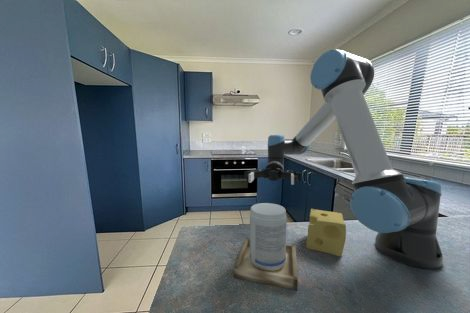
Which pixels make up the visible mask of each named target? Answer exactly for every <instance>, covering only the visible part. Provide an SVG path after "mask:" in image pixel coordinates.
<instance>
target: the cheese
mask: <svg viewBox="0 0 470 313" xmlns="http://www.w3.org/2000/svg"><path fill="white" fill-rule="evenodd" d="M346 235H347V226H346V222H345V221H344V217H343V213H341V212H335V211H328V210H321V209H315V208H310V212H309V221H308V228H307V237H306V242H305V244H306V245H305V246H306V249H308V250H312V251H317V252H322V253H326V254H330V255H333V256H337V257H343V251H344V248H345V243H346V237H347V236H346Z"/></svg>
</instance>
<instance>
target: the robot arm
mask: <svg viewBox="0 0 470 313" xmlns="http://www.w3.org/2000/svg"><path fill="white" fill-rule="evenodd" d="M309 77H310V84H311V85H312V87H313V88H315V89H316V90H320V92H321V93H322V96H323V100H324V103H323V104H322V105H321V107H320V108H319V109H318V110H317V111H316V112H315V113H314V114H313V116H312V117H311V118H310V119H309V120H308V121H307V122H306V123H305V125H304V126H303V127H302V128H301V129H300V131H299V132H298V133H296V135H295V136H294V137H293V138H292V139H288V138H287V139H286V138H285V136H284V135H283V134H271V135H269V136H268V138H267V165H266V166H265V168H262V170H261V169H260V168H256V169H250V170H247V171H246V170H245V171H244V179H248V183H250V184H251V183H252V182H254V180H255V179H259V178H263V179H268V180H269V181H272V182H277V181H279V180H282V179H283V180H284V179H285V180H290V184H291V186H292V185H293V186H294V185H295V182H298V181H299V182H301V181H303V173H301V172H298V171H295V170H291V169H288V170H285V164H284V163H285V156H287V155H288V156H289V155H297V156H299V155H304V154H306V153H307V152H309V149H310V144H312V142H314V140H315V139H317V138H318V137H319V135H321V133H322V132H324V130H326V129H327V128H328V127H329V126H330V125H331V124H332V123H333V122H334V121H335V120H336V121H337V124H338V127H339V131H340V134H341V136H342V138H343V139H342V140H343V142H344V145H345V148H346V150H347V154H348V158H349V160H350V163H351V167H352V170H353V171H354V174H355V177H354V178H353V180H352V181H351V185H352V187H353V191H354V192H353V193H352V194H351V197H350V200H349V205H350V209H351V212H352V214H353V215H354V217H355V218H356V220H357V221H358V222H359V223H360V224H361V225H362V226H364V227H366V228H367V229H369V230H371V231H373V232H376V233H377V234H376V235H375V239H374V241H375V242H374V246H375V248H376V249H377V250H378V251H379V252H381V253H382V254H384V255H385V256H387V257H388V258H390V259H393V261H397V262H399V263H402V264H405V265H409V266H411V267H416V268H420V269H427V270H428V269H430V270H434V269H436V270H437V269H440V268H441V267H442V266H443V260H444V257H443V253H442V250H441V246H440V244H439V241H438V238H437V228H438V220H439V212H440V203H441V197H442V185H441V184H440V182H437V181H436V180H435V181H434V180H428V179H423V178H422V179H420V178H413V177H408V176H407V177H406V176H404V173H402V172H401V171H398V170H396V169H394V168H393V166H392V163H391V161H390V159H389V156H388V154H387V151H386V149H385V146H384V144H383V141H382V139H381V136H380V134H379V131H378V128H377V126H376V123H375V121H374V118H373V116H372V114H371V111H370V108H369V105H368V103H367V101H366V100H367V99H366V98H365V94H366V93H367V91H368V90H369V89H370V87H371V85H372V84H373V82H374V78H375V68H374V65H373V64H372V62H371V61H370V60H369V59H367V58H365V57H362V56H358V55H356V54H353V53H350V52H347V51H345V50H343V49H337V48H336V49H334V48H333V49H329V50H327V51H325V52H323V53H322V54H321V55H320V56H319V57H318V58H317V59H316V61H315V62H314V64H313V67H312V69H311V71H310V76H309Z"/></svg>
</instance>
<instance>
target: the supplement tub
mask: <svg viewBox="0 0 470 313" xmlns="http://www.w3.org/2000/svg"><path fill="white" fill-rule="evenodd" d="M286 210H287V209H286V208H285V207H284V206H282V205H280V204H276V203H270V202H262V203H260V202H259V203H255V204H253V205H252V206H251V207H250V213H249V238H250V260H251V262H252V263H253V265H254V266H256V267H257V268H260V269H262V270H265V271H275V270H278V269H280V268H282V267H283V266H284V264H285V261H286V244H287V211H286Z"/></svg>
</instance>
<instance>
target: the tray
mask: <svg viewBox="0 0 470 313" xmlns="http://www.w3.org/2000/svg"><path fill="white" fill-rule="evenodd" d="M297 264H298V263H297V252H296V245H295V244H290V243H286V261H285V264H284V266H283V267H282V268H280V269H278V270H275V271H265V270H262V269H260V268H257V267H256V266H254V265H253V263H252V262H251V260H250V237H245V240H244V242H243V245H242V248H241V250H240V252H239V254H238V257H237V259H236V262H235V265H234V267H233V278H235V279H239V280H244V281H245V280H246V281H250V282H256V283H260V284H265V285H269V286H275V287H279V288H284V289H288V290H289V289H290V290H294V291H298V286H299V284H298V283H299V278H298V266H297Z"/></svg>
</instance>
